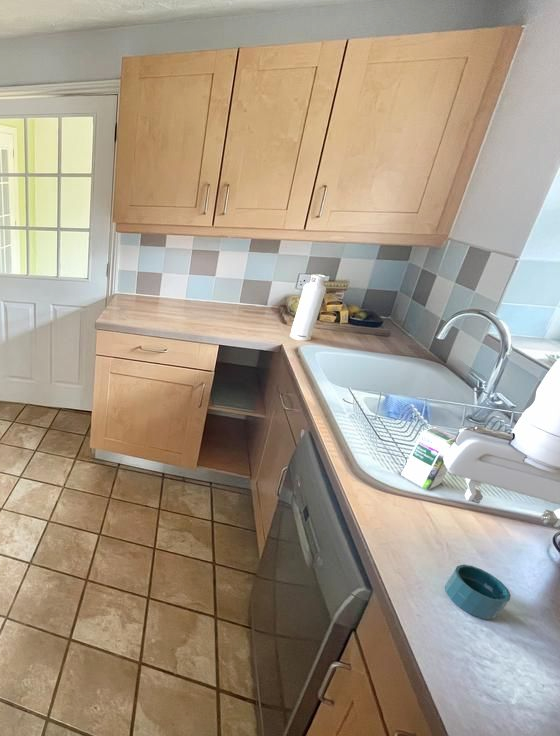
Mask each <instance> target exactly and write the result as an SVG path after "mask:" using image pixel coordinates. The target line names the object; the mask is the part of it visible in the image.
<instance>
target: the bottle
mask: <svg viewBox="0 0 560 736" xmlns="http://www.w3.org/2000/svg"><path fill="white" fill-rule="evenodd" d="M325 279H326V276H325V275H323V274H319V273H313V274H311V277H310V281H309V282H307V283H305V284H304V285H303V288H302V291H301V294H300V295H301V296H300V299H299V302H298V306H297V310H296V313H295V317H294V319H293V320H294V321H293V323H292V326H291V331H290V334H289V337H290V338H292V339H294V340H297V341H303V342H309V341H311V340H312V335H313V333H314V331H315V326H316V323H317V320H318V317H319V314H320V311H321V307H322V304H323V301H324V297H325V294H326V291H327V287H326V286H325V285H324V281H325Z"/></svg>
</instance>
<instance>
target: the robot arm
mask: <svg viewBox="0 0 560 736" xmlns="http://www.w3.org/2000/svg"><path fill="white" fill-rule="evenodd" d="M455 436H456V437H455V442H454V443H453V444H452V446H451V447H450V448H449V450H448V451H447V452H446V454H445V456H444V458H443V461H444V464H445V466H446V468H447V469H448V470H447V472H449V473H450V475H454V476H457V477H461V478H463V479H464V480H465V483H466V487H467V489H466V491H465V493H464V498H465V500H466V501H468V502H472V503H475V504H480V503H481V501H482V500H483V498H484V495H483V494H482V492H481V490H479V489H476V487H480V486H481V485H482V484H485V485H489V486H493V487H496V488H500V489H502V490H507V491H510V492H513V493H517V494H521V495H525V496H527V497H532V498H535V499H539V500H542V501H545V502H549V503H553V504H557V505H559V506H560V357H559V358H558V359H556V361H555V362H554V363H553V365H552V366H551V367H550V369H549V370H548V371H547V373H546V374H545V376H543V378H542V380H541V382H540V383H539V385H538V387H537V388H536V392H535V398H534V401H533V402H532V404H531V405H530V406H529V407H527V408H525V410H524V411H523V412H522V414H521V415H520V417H519V418H518V420H517V422H516V423H515V425H514V426H513V428H512V430H511V432H508V431H504V430H500V429H494V428H488V427H486V426H483V425H477V424H475V425H474V426H465V427H462V428H460V429H459V430H458V432H457V434H456V435H455ZM540 520H541V521H542V523H543V524H545V525H549V526H551V527H555V528H559V527H560V507H559V508H557V509H555V510H550V509H545V510H544V511H543V514H541V516H540Z"/></svg>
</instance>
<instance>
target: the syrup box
mask: <svg viewBox="0 0 560 736" xmlns="http://www.w3.org/2000/svg"><path fill="white" fill-rule="evenodd" d="M455 437H456V435H454V434H452V433H450V432H448V431H445V430H443V429H441V428H439V427H438V426H434V427H433V426H432V427H429V428H426V429H424V430H422V431H421V432H420V434H419V437H418V438H417V440H416V442H415V445H414V447H413V449H412V450H411V453H410V456H409V458H408V460H407V462H406V464H405V466H404V468H403V470H402V472H401V474H400V475H401V476H402V477H404V478H406V479H407V480H409V481H411V482H412V483H413V484H416V485H417V486H418V487H421V488H422V489H424V490H426V491H428V490H430V489H433V488H435V487H437V486H439V485H441V484H442V481H443V480H444V478H445V476H446V474H447V473H448V469H447V468H446V466H445V464H444V461H443V458H444V456H445V454H446V452H447V451H448V450H449V448H450V447H451V446H452V444H453V443H454V442H455Z"/></svg>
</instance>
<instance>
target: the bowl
mask: <svg viewBox="0 0 560 736" xmlns="http://www.w3.org/2000/svg"><path fill="white" fill-rule="evenodd" d="M444 591H445V593H446V595H447V596H448V597H449V599H450V600H451V601H452V602H453V603H454V604H455V605H456V606H457V607H458V608H460V610H462V611H464V612H466V613H468V614H469V615H472V616H474V617H476V618H480V619H484V620H493V619H496V618H497V617H499V615H500V614H501V612H502V611H503V610H504V609H505V607H506V606H507V604H508V603H509V601H511V597H512V595H511V593H510V590H509V588H507V586H506V585H505V584H504V583H503V582H502V581H501V580H500V579H498V578H497V577H495V576H494V575H492V574H491V573H489V572H487V571H485V570H483V569H482V568H478V567H477V566H473V565H470V564H469V565H468V564H460V565H457V566H455V569H454V570H453V572H452V573H451V574H450V576H449V578H448V579H447V581H446V583H445V585H444Z"/></svg>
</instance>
